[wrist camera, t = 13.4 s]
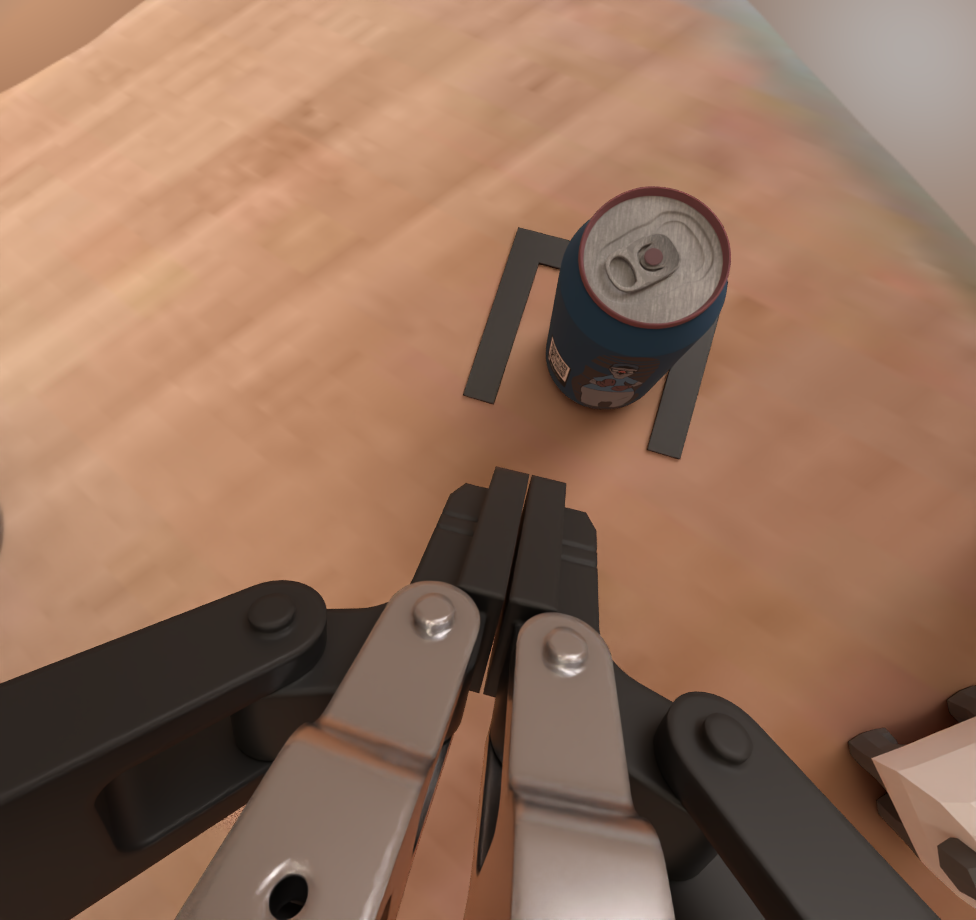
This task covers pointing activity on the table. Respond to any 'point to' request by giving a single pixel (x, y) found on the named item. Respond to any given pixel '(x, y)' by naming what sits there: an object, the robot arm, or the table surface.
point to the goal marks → (506, 321)
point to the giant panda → (931, 793)
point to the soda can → (635, 295)
